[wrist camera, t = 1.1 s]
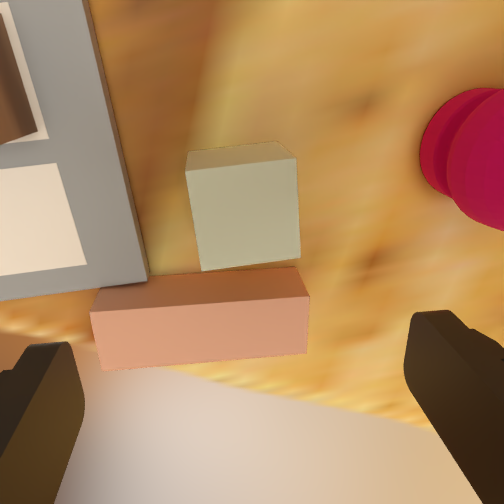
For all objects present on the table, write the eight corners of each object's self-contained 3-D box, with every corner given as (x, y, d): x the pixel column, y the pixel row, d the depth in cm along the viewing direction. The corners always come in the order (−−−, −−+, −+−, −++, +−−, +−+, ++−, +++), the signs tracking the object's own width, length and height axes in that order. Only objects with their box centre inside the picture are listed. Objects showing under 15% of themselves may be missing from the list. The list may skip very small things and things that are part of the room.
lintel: (294, 264, 26) (309, 296, 22) (292, 316, 28) (306, 353, 24) (105, 277, 25) (89, 312, 21) (115, 330, 26) (101, 371, 23)
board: (84, -15, 18) (76, -21, 17) (149, 271, 25) (147, 281, 23) (-193, 9, 17) (-220, 4, 16) (-52, 298, 24) (-64, 310, 23)
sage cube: (276, 140, 22) (296, 158, 18) (282, 223, 24) (300, 257, 20) (188, 151, 22) (184, 171, 17) (201, 234, 24) (201, 271, 20)
